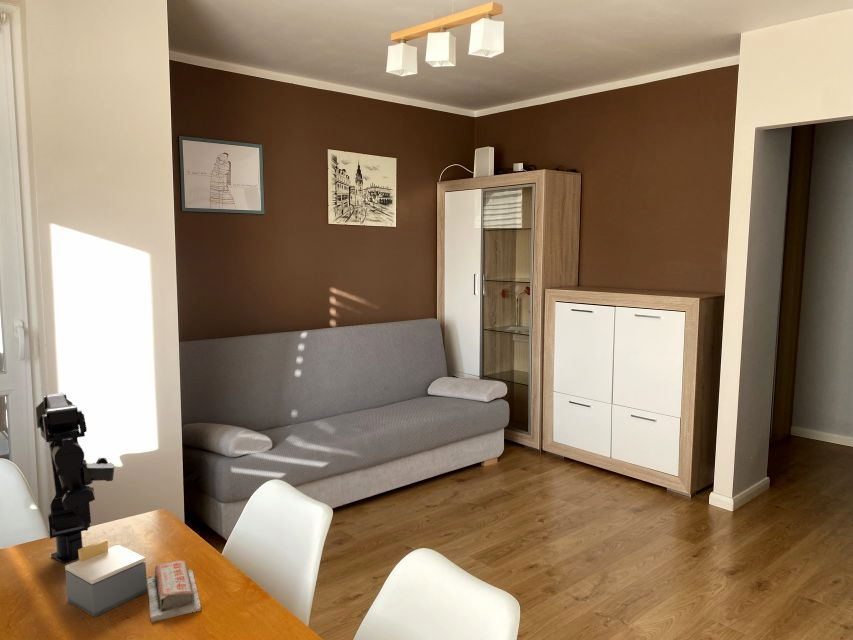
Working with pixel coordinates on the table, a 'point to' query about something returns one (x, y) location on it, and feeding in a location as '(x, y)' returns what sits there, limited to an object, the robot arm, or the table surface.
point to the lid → (102, 561)
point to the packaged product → (172, 591)
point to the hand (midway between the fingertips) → (88, 523)
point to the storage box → (107, 590)
